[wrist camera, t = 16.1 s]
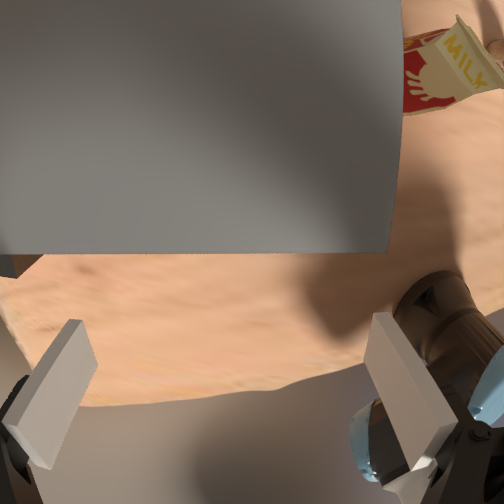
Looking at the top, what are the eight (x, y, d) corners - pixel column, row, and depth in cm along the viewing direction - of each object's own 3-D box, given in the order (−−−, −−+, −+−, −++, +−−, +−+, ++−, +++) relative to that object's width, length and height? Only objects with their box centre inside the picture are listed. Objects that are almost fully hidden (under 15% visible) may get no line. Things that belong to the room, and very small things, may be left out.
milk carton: (433, 90, 35) (540, 93, 17) (385, 119, 37) (489, 132, 18) (400, 33, 32) (499, 0, 13) (349, 59, 33) (438, 23, 15)
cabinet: (278, 166, 39) (378, 292, 11) (67, 175, 37) (-108, 277, 10) (281, 2, 30) (364, -161, 3) (67, 24, 29) (-102, -28, 1)
